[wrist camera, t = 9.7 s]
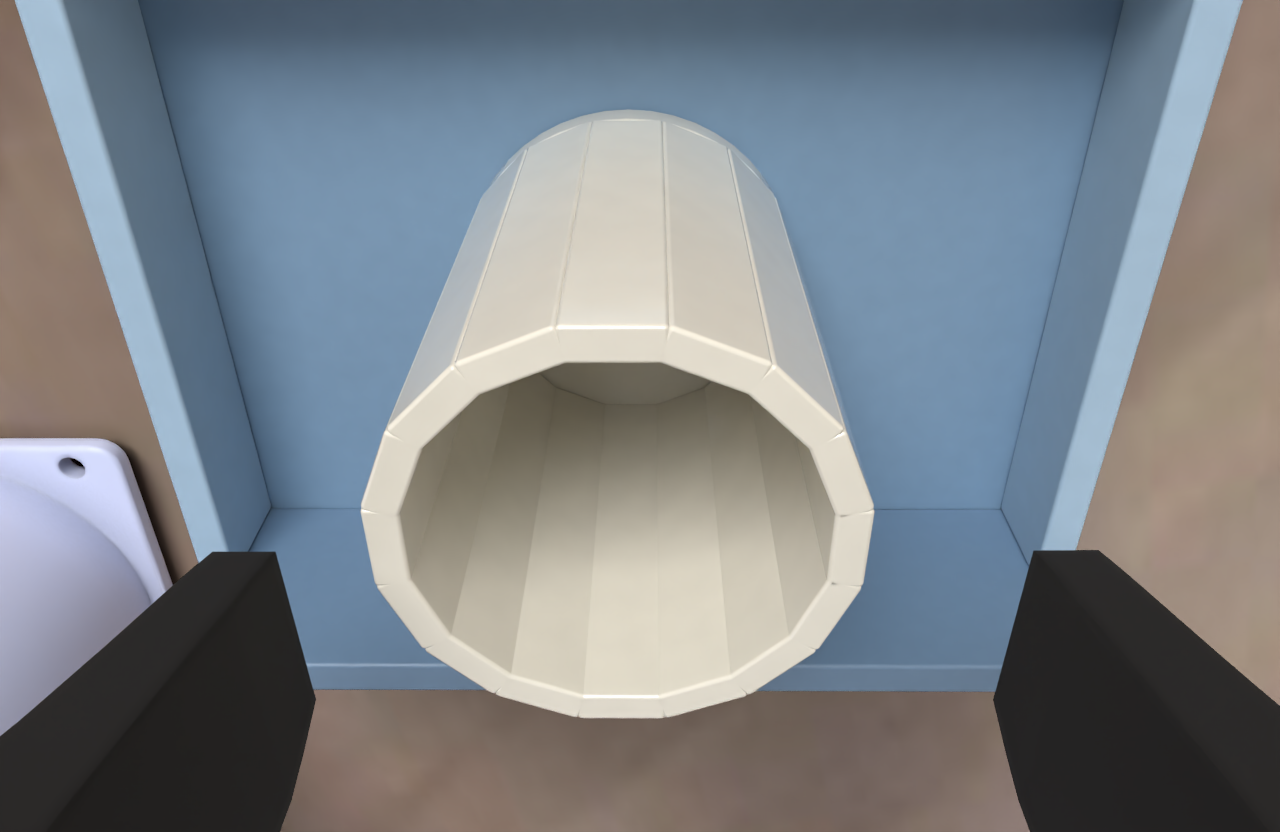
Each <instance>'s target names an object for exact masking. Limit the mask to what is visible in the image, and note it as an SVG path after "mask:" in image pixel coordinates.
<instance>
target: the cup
mask: <svg viewBox="0 0 1280 832" xmlns="http://www.w3.org/2000/svg"><path fill="white" fill-rule="evenodd" d="M360 512H361V517H362V522H363V527H364V532H365V537H366V542H367V547H368V552H369V557H370V562H371V567H372V572H373V576H374V581H375V584H376V585H377V588H378V590H379V591H380V593H381V594H382V595H383V597H384V598H385V599H386V601H387V602H388V603H389V605H390V606H391V607H392V609H393V610H394V611H395V613H396V614H397V615H398V617H399V618H400V619H401V620H402V622H403V623H404V624H405V626H406V627H407V628H408V630H409V631H410V632H411V634H412V635H413V636H414V638H415V639H416V640H417V642H418V643H419V644H420V646H421V647H422V648H425V650H426V651H427V652H428V653H429V654H431V655H432V656H434V657H436V658H437V659H439V660H440V661H442V662H443V663H445V664H447V665H448V666H450V667H451V668H453V669H454V670H456V671H457V672H459V673H461V674H462V675H464V676H465V677H467V678H468V679H470V680H472V681H473V682H475V683H476V684H478V685H479V686H481V687H483V688H484V689H486V690H487V691H489V692H490V693H496V695H497V696H500V697H503V698H507V699H511V700H514V701H518V702H521V703H525V704H529V705H532V706H536V707H539V708H543V709H546V710H550V711H554V712H557V713H561V714H564V715H568V716H572V717H577V716H579V718H633V719H662V718H664V716H665V717H668V718H669V717H673V716H677V715H680V714H684V713H688V712H691V711H695V710H698V709H702V708H706V707H709V706H713V705H717V704H720V703H724V702H728V701H731V700H735V699H738V698H742V697H745V696H746V695H747V694H752V693H753V692H755V691H756V690H758V689H759V688H761V687H763V686H764V685H766V684H767V683H769V682H770V681H772V680H773V679H775V678H776V677H778V676H780V675H781V674H783V673H784V672H786V671H787V670H789V669H790V668H792V667H793V666H795V665H796V664H798V663H800V662H801V661H803V660H804V659H806V658H807V657H809V656H810V655H812V654H813V653H814V652H815V651H816V649H819V648H820V646H821V645H822V644H823V642H824V641H825V639H826V638H827V637H828V635H829V634H830V632H831V631H832V630H833V628H834V627H835V625H836V624H837V622H838V621H839V620H840V618H841V617H842V615H843V614H844V613H845V611H846V610H847V608H848V607H849V606H850V604H851V603H852V601H853V600H854V599H855V597H856V596H857V594H858V593H859V592H860V590H861V586H862V585H863V583H864V578H865V572H866V565H867V559H868V552H869V546H870V540H871V533H872V527H873V520H874V514H875V511H874V503H873V499H872V496H871V493H870V490H869V487H868V483H867V480H866V477H865V474H864V470H863V467H862V464H861V461H860V457H859V454H858V451H857V448H856V445H855V441H854V438H853V435H852V432H851V428H850V425H849V422H848V419H847V415H846V412H845V409H844V406H843V402H842V399H841V396H840V393H839V390H838V386H837V383H836V380H835V377H834V373H833V370H832V367H831V364H830V360H829V357H828V354H827V351H826V348H825V344H824V341H823V338H822V335H821V331H820V328H819V325H818V322H817V318H816V315H815V312H814V309H813V305H812V302H811V299H810V296H809V293H808V289H807V286H806V283H805V280H804V276H803V273H802V270H801V267H800V263H799V260H798V257H797V254H796V251H795V248H794V245H793V242H792V240H791V237H790V234H789V231H788V229H787V226H786V222H785V219H784V216H783V213H782V210H781V208H780V206H779V203H778V201H777V199H776V197H775V194H774V193H773V191H772V189H771V188H770V186H769V185H768V183H767V181H766V180H765V178H764V177H763V175H762V174H761V173H760V172H759V170H758V169H757V168H756V167H755V166H754V165H753V163H752V162H751V161H750V160H749V159H748V158H747V157H746V156H745V155H744V154H743V153H741V152H740V151H739V150H738V149H737V148H736V147H735V146H734V145H732V144H731V143H729V142H728V141H727V140H725V139H724V138H722V137H721V136H719V135H718V134H716V133H715V132H713V131H711V130H709V129H707V128H705V127H703V126H701V125H699V124H697V123H695V122H692V121H689V120H686V119H683V118H680V117H677V116H674V115H669V114H664V113H659V112H654V111H645V110H630V109H626V110H612V111H602V112H598V113H593V114H588V115H583V116H580V117H577V118H574V119H571V120H569V121H566V122H563V123H560V124H558V125H557V126H555V127H553V128H551V129H549V130H547V131H545V132H543V133H541V134H540V135H538V136H537V137H535V138H534V139H532V140H531V141H530V142H528V143H527V144H525V145H524V146H523V147H522V148H521V149H520V150H518V151H517V152H516V153H515V154H514V155H513V156H512V157H511V158H510V159H509V160H508V161H507V162H506V163H505V165H504V166H503V167H502V168H501V169H500V171H499V172H498V173H497V174H496V176H495V177H494V179H493V180H492V182H491V184H490V185H489V187H488V189H487V190H486V192H485V193H484V194H483V195H482V198H481V199H480V200H479V203H478V205H477V208H476V210H475V213H474V215H473V217H472V220H471V222H470V225H469V227H468V229H467V232H466V234H465V237H464V239H463V242H462V244H461V246H460V249H459V251H458V254H457V256H456V258H455V261H454V263H453V266H452V268H451V271H450V273H449V275H448V278H447V280H446V283H445V285H444V287H443V290H442V292H441V295H440V297H439V300H438V302H437V304H436V307H435V309H434V312H433V314H432V316H431V319H430V321H429V324H428V326H427V329H426V331H425V333H424V336H423V338H422V341H421V343H420V345H419V348H418V350H417V353H416V355H415V358H414V360H413V362H412V365H411V367H410V370H409V372H408V374H407V377H406V379H405V382H404V384H403V387H402V389H401V391H400V394H399V396H398V399H397V401H396V403H395V406H394V408H393V411H392V413H391V416H390V418H389V420H388V423H387V425H386V428H385V430H384V432H383V436H382V439H381V442H380V445H379V448H378V451H377V454H376V457H375V461H374V464H373V467H372V470H371V473H370V476H369V479H368V483H367V486H366V489H365V492H364V495H363V498H362V501H361V511H360Z"/></svg>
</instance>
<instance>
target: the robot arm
mask: <svg viewBox="0 0 1280 832" xmlns="http://www.w3.org/2000/svg"><path fill="white" fill-rule="evenodd" d="M70 458H74V459H76V460H78V461H79V462H81V463H82V464H83V466H84V467H81V466H78V465H76V464H75V463H73V462H72V461H71V460H70ZM315 701H316V698H315V694H314V691H313V687H312V683H311V680H310V676H309V672H308V669H307V665H306V661H305V658H304V654H303V650H302V647H301V643H300V639H299V636H298V632H297V629H296V625H295V621H294V618H293V614H292V610H291V607H290V603H289V599H288V596H287V592H286V588H285V585H284V581H283V577H282V574H281V570H280V566H279V563H278V559H277V555H276V552H211V553H210V554H209V555H208V556H207V557H205V558H204V559H203V560H202V561H201V562H199V563H198V564H197V565H196V566H195V567H193V568H192V569H191V570H190V571H189V572H188V573H186V574H185V575H184V576H183V577H182V578H181V579H180V580H178V581H177V582H176V583H175V584H174V585H173V584H172V581H171V578H170V575H169V573H168V570H167V567H166V564H165V561H164V558H163V556H162V553H161V550H160V547H159V544H158V541H157V538H156V536H155V533H154V530H153V527H152V524H151V521H150V519H149V516H148V513H147V510H146V507H145V504H144V501H143V499H142V496H141V493H140V490H139V487H138V484H137V482H136V479H135V476H134V473H133V470H132V467H131V464H130V462H129V459H128V457H127V455H126V453H125V452H124V450H123V449H121V448H120V447H119V446H118V445H117V444H115V443H113V442H111V441H108V440H105V439H99V438H0V832H280V830H281V827H282V824H283V822H284V819H285V816H286V813H287V811H288V808H289V805H290V802H291V800H292V796H293V792H294V788H295V784H296V780H297V776H298V772H299V769H300V765H301V761H302V757H303V753H304V749H305V744H306V740H307V736H308V731H309V727H310V723H311V718H312V714H313V710H314V705H315ZM993 701H994V705H995V709H996V713H997V717H998V722H999V726H1000V730H1001V734H1002V738H1003V743H1004V747H1005V751H1006V755H1007V759H1008V763H1009V766H1010V770H1011V774H1012V778H1013V781H1014V785H1015V789H1016V793H1017V796H1018V800H1019V803H1020V806H1021V808H1022V811H1023V814H1024V816H1025V819H1026V822H1027V825H1028V827H1029V830H1030V832H1280V706H1279V705H1278V704H1277V703H1276V702H1275V701H1273V700H1272V699H1271V698H1270V697H1269V696H1267V695H1266V694H1265V693H1264V692H1263V691H1261V690H1260V689H1259V688H1258V687H1257V686H1255V685H1254V684H1253V683H1252V682H1251V681H1250V680H1248V679H1247V678H1246V677H1245V676H1244V675H1243V674H1242V673H1240V672H1239V671H1238V670H1237V669H1236V668H1235V667H1233V666H1232V665H1231V664H1230V663H1229V662H1228V661H1226V660H1225V659H1224V658H1223V657H1222V656H1221V655H1219V654H1218V653H1217V652H1216V651H1215V650H1214V649H1213V648H1211V647H1210V646H1209V645H1208V644H1207V643H1206V642H1205V641H1203V640H1202V639H1201V638H1200V637H1199V636H1198V635H1196V634H1195V633H1194V632H1193V631H1192V630H1191V629H1190V628H1188V627H1187V626H1186V625H1185V624H1184V623H1183V622H1182V621H1180V620H1179V619H1178V618H1177V617H1176V616H1175V615H1174V614H1172V613H1171V612H1170V611H1169V610H1168V609H1167V608H1166V607H1164V606H1163V605H1162V604H1161V603H1160V602H1159V601H1158V600H1156V599H1155V598H1154V597H1153V596H1152V595H1151V594H1150V593H1148V592H1147V591H1146V590H1145V589H1144V588H1143V587H1142V586H1140V585H1139V584H1138V583H1137V582H1136V581H1135V580H1133V579H1132V578H1131V577H1130V576H1129V575H1128V574H1126V573H1125V572H1124V571H1123V570H1122V569H1121V568H1119V567H1118V566H1117V565H1116V564H1115V563H1113V562H1112V561H1111V560H1110V559H1109V558H1107V557H1106V556H1105V555H1104V554H1102V553H1101V552H1100V551H1099V550H1033V554H1032V557H1031V561H1030V565H1029V569H1028V572H1027V576H1026V580H1025V584H1024V587H1023V591H1022V595H1021V598H1020V602H1019V606H1018V610H1017V613H1016V617H1015V621H1014V624H1013V628H1012V632H1011V636H1010V639H1009V643H1008V647H1007V650H1006V654H1005V658H1004V662H1003V665H1002V669H1001V673H1000V676H999V680H998V684H997V688H996V691H995V695H994V699H993Z"/></svg>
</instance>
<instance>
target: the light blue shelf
mask: <svg viewBox="0 0 1280 832" xmlns="http://www.w3.org/2000/svg"><path fill="white" fill-rule="evenodd" d="M1242 1H1243V0H15V3H16V6H17V9H18V12H19V15H20V18H21V21H22V24H23V27H24V30H25V33H26V36H27V39H28V43H29V46H30V49H31V52H32V55H33V58H34V61H35V64H36V67H37V70H38V73H39V76H40V79H41V82H42V85H43V88H44V91H45V94H46V98H47V101H48V104H49V107H50V110H51V113H52V116H53V119H54V122H55V125H56V128H57V131H58V134H59V137H60V140H61V143H62V146H63V150H64V153H65V156H66V159H67V162H68V165H69V168H70V171H71V174H72V177H73V180H74V183H75V186H76V189H77V192H78V195H79V198H80V202H81V205H82V208H83V211H84V214H85V217H86V220H87V223H88V226H89V229H90V232H91V235H92V238H93V241H94V244H95V247H96V250H97V254H98V257H99V260H100V263H101V266H102V269H103V272H104V275H105V278H106V281H107V284H108V287H109V290H110V293H111V296H112V299H113V302H114V305H115V309H116V312H117V315H118V318H119V321H120V324H121V327H122V330H123V333H124V336H125V339H126V342H127V345H128V348H129V351H130V354H131V357H132V361H133V364H134V367H135V370H136V373H137V376H138V379H139V382H140V385H141V388H142V391H143V394H144V397H145V400H146V403H147V406H148V409H149V413H150V416H151V419H152V422H153V425H154V428H155V431H156V434H157V437H158V440H159V443H160V446H161V449H162V452H163V455H164V458H165V461H166V465H167V468H168V471H169V474H170V477H171V480H172V483H173V486H174V489H175V492H176V495H177V498H178V501H179V504H180V507H181V510H182V513H183V517H184V520H185V523H186V526H187V529H188V532H189V535H190V538H191V541H192V544H193V547H194V550H195V553H196V556H197V559H198V562H201V561H202V560H203V559H204V558H205V557H207V556H208V555H209V554H210V553H211V552H276V555H277V559H278V563H279V566H280V570H281V574H282V577H283V581H284V585H285V588H286V592H287V596H288V599H289V603H290V607H291V610H292V614H293V618H294V621H295V625H296V629H297V632H298V636H299V639H300V643H301V647H302V650H303V654H304V658H305V661H306V665H307V669H308V672H309V676H310V680H311V683H312V687H313V690H486V689H484V688H483V687H481V686H479V685H478V684H476V683H475V682H473V681H472V680H470V679H468V678H467V677H465V676H464V675H462V674H461V673H459V672H457V671H456V670H454V669H453V668H451V667H450V666H448V665H447V664H445V663H443V662H442V661H440V660H439V659H437V658H436V657H434V656H432V655H431V654H429V653H428V652H427V651H426V650H425V648H422V647H421V646H420V644H419V643H418V642H417V640H416V639H415V638H414V636H413V635H412V634H411V632H410V631H409V630H408V628H407V627H406V626H405V624H404V623H403V622H402V620H401V619H400V618H399V617H398V615H397V614H396V613H395V611H394V610H393V609H392V607H391V606H390V605H389V603H388V602H387V601H386V599H385V598H384V597H383V595H382V594H381V593H380V591H379V590H378V588H377V585H376V584H375V581H374V576H373V572H372V567H371V562H370V557H369V552H368V547H367V542H366V537H365V532H364V527H363V522H362V517H361V512H360V511H361V501H362V498H363V495H364V492H365V489H366V486H367V483H368V479H369V476H370V473H371V470H372V467H373V464H374V461H375V457H376V454H377V451H378V448H379V445H380V442H381V439H382V436H383V432H384V430H385V428H386V425H387V423H388V420H389V418H390V416H391V413H392V411H393V408H394V406H395V403H396V401H397V399H398V396H399V394H400V391H401V389H402V387H403V384H404V382H405V379H406V377H407V374H408V372H409V370H410V367H411V365H412V362H413V360H414V358H415V355H416V353H417V350H418V348H419V345H420V343H421V341H422V338H423V336H424V333H425V331H426V329H427V326H428V324H429V321H430V319H431V316H432V314H433V312H434V309H435V307H436V304H437V302H438V300H439V297H440V295H441V292H442V290H443V287H444V285H445V283H446V280H447V278H448V275H449V273H450V271H451V268H452V266H453V263H454V261H455V258H456V256H457V254H458V251H459V249H460V246H461V244H462V242H463V239H464V237H465V234H466V232H467V229H468V227H469V225H470V222H471V220H472V217H473V215H474V213H475V210H476V208H477V205H478V203H479V200H480V199H481V198H482V195H483V194H484V193H485V192H486V190H487V189H488V187H489V185H490V184H491V182H492V180H493V179H494V177H495V176H496V174H497V173H498V172H499V171H500V169H501V168H502V167H503V166H504V165H505V163H506V162H507V161H508V160H509V159H510V158H511V157H512V156H513V155H514V154H515V153H516V152H517V151H518V150H520V149H521V148H522V147H523V146H524V145H525V144H527V143H528V142H530V141H531V140H532V139H534V138H535V137H537V136H538V135H540V134H541V133H543V132H545V131H547V130H549V129H551V128H553V127H555V126H557V125H558V124H560V123H563V122H566V121H569V120H571V119H574V118H577V117H580V116H583V115H588V114H593V113H598V112H602V111H612V110H626V109H630V110H645V111H654V112H659V113H664V114H669V115H674V116H677V117H680V118H683V119H686V120H689V121H692V122H695V123H697V124H699V125H701V126H703V127H705V128H707V129H709V130H711V131H713V132H715V133H716V134H718V135H719V136H721V137H722V138H724V139H725V140H727V141H728V142H729V143H731V144H732V145H734V146H735V147H736V148H737V149H738V150H739V151H740V152H741V153H743V154H744V155H745V156H746V157H747V158H748V159H749V160H750V161H751V162H752V163H753V165H754V166H755V167H756V168H757V169H758V170H759V172H760V173H761V174H762V175H763V177H764V178H765V180H766V181H767V183H768V185H769V186H770V188H771V189H772V191H773V193H774V194H775V197H776V199H777V201H778V203H779V206H780V208H781V210H782V213H783V216H784V219H785V222H786V226H787V229H788V231H789V234H790V237H791V240H792V242H793V245H794V248H795V251H796V254H797V257H798V260H799V263H800V267H801V270H802V273H803V276H804V280H805V283H806V286H807V289H808V293H809V296H810V299H811V302H812V305H813V309H814V312H815V315H816V318H817V322H818V325H819V328H820V331H821V335H822V338H823V341H824V344H825V348H826V351H827V354H828V357H829V360H830V364H831V367H832V370H833V373H834V377H835V380H836V383H837V386H838V390H839V393H840V396H841V399H842V402H843V406H844V409H845V412H846V415H847V419H848V422H849V425H850V428H851V432H852V435H853V438H854V441H855V445H856V448H857V451H858V454H859V457H860V461H861V464H862V467H863V470H864V474H865V477H866V480H867V483H868V487H869V490H870V493H871V496H872V499H873V503H874V511H875V514H874V520H873V527H872V533H871V540H870V546H869V552H868V559H867V565H866V572H865V578H864V583H863V585H862V586H861V590H860V592H859V593H858V594H857V596H856V597H855V599H854V600H853V601H852V603H851V604H850V606H849V607H848V608H847V610H846V611H845V613H844V614H843V615H842V617H841V618H840V620H839V621H838V622H837V624H836V625H835V627H834V628H833V630H832V631H831V632H830V634H829V635H828V637H827V638H826V639H825V641H824V642H823V644H822V645H821V646H820V648H819V649H816V651H815V652H814V653H813V654H812V655H810V656H809V657H807V658H806V659H804V660H803V661H801V662H800V663H798V664H796V665H795V666H793V667H792V668H790V669H789V670H787V671H786V672H784V673H783V674H781V675H780V676H778V677H776V678H775V679H773V680H772V681H770V682H769V683H767V684H766V685H764V686H763V687H761V688H759V689H758V690H756V691H900V692H995V691H996V688H997V684H998V680H999V676H1000V673H1001V669H1002V665H1003V662H1004V658H1005V654H1006V650H1007V647H1008V643H1009V639H1010V636H1011V632H1012V628H1013V624H1014V621H1015V617H1016V613H1017V610H1018V606H1019V602H1020V598H1021V595H1022V591H1023V587H1024V584H1025V580H1026V576H1027V572H1028V569H1029V565H1030V561H1031V557H1032V554H1033V550H1076V548H1077V544H1078V541H1079V538H1080V534H1081V531H1082V528H1083V525H1084V521H1085V518H1086V515H1087V511H1088V508H1089V505H1090V502H1091V498H1092V495H1093V492H1094V488H1095V485H1096V482H1097V478H1098V475H1099V472H1100V469H1101V465H1102V462H1103V459H1104V455H1105V452H1106V449H1107V446H1108V442H1109V439H1110V436H1111V432H1112V429H1113V426H1114V423H1115V419H1116V416H1117V413H1118V409H1119V406H1120V403H1121V400H1122V396H1123V393H1124V390H1125V386H1126V383H1127V380H1128V376H1129V373H1130V370H1131V367H1132V363H1133V360H1134V357H1135V353H1136V350H1137V347H1138V344H1139V340H1140V337H1141V334H1142V330H1143V327H1144V324H1145V321H1146V317H1147V314H1148V311H1149V307H1150V304H1151V301H1152V297H1153V294H1154V291H1155V288H1156V284H1157V281H1158V278H1159V274H1160V271H1161V268H1162V265H1163V261H1164V258H1165V255H1166V251H1167V248H1168V245H1169V242H1170V238H1171V235H1172V232H1173V228H1174V225H1175V222H1176V219H1177V215H1178V212H1179V209H1180V205H1181V202H1182V199H1183V195H1184V192H1185V189H1186V186H1187V182H1188V179H1189V176H1190V172H1191V169H1192V166H1193V163H1194V159H1195V156H1196V153H1197V149H1198V146H1199V143H1200V140H1201V136H1202V133H1203V130H1204V126H1205V123H1206V120H1207V117H1208V113H1209V110H1210V107H1211V103H1212V100H1213V97H1214V93H1215V90H1216V87H1217V84H1218V80H1219V77H1220V74H1221V70H1222V67H1223V64H1224V61H1225V57H1226V54H1227V51H1228V47H1229V44H1230V41H1231V38H1232V34H1233V31H1234V28H1235V24H1236V21H1237V18H1238V15H1239V11H1240V8H1241V5H1242Z"/></svg>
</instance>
